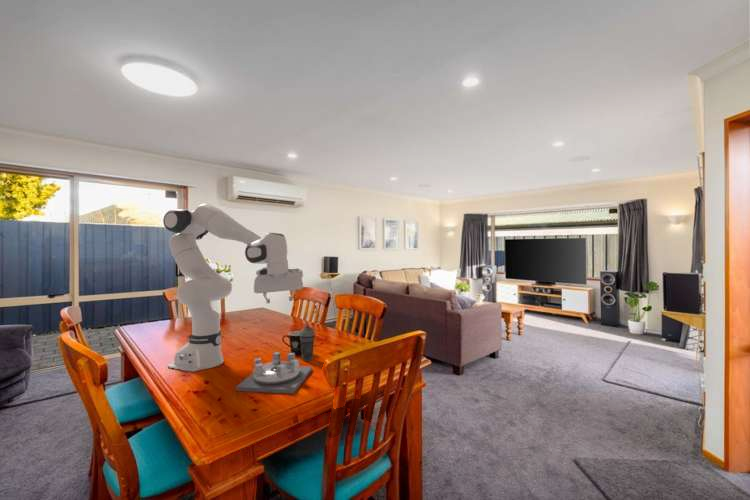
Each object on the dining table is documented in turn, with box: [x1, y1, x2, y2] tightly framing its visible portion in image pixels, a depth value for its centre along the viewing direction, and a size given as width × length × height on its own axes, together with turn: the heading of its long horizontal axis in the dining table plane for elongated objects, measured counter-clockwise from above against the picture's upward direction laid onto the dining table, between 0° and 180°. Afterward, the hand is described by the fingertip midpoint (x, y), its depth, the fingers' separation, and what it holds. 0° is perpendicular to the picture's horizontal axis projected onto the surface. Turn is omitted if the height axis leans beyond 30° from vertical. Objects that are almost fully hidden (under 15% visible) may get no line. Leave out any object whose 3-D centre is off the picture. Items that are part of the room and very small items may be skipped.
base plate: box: [235, 365, 313, 395], centre depth 128 cm, size 22×22×2 cm
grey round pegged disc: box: [252, 351, 301, 385], centre depth 127 cm, size 19×18×6 cm
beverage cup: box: [300, 317, 316, 362], centre depth 150 cm, size 7×7×20 cm
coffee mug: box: [281, 330, 302, 356], centre depth 160 cm, size 12×9×10 cm
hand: (279, 302), depth 137 cm, fingers open, 8 cm apart
